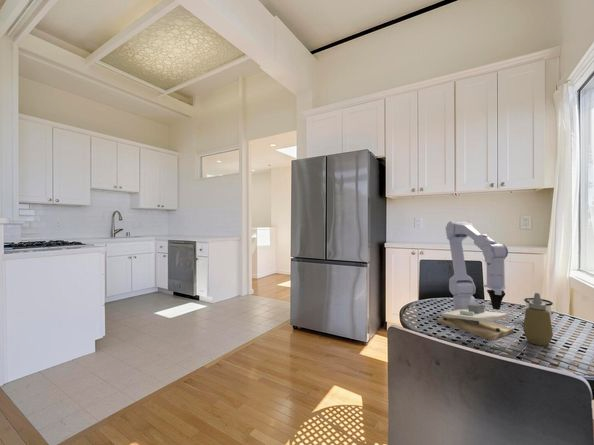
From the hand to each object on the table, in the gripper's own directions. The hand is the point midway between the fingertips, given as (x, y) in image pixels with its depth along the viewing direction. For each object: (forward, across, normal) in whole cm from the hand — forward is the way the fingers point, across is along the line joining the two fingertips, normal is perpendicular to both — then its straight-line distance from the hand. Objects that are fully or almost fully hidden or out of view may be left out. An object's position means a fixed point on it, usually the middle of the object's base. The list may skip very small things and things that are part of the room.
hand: (496, 309), depth 109 cm
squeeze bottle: (+10, +4, +12) cm, 16 cm away
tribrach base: (+9, -3, -8) cm, 12 cm away
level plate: (+4, -3, -8) cm, 9 cm away
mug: (+10, -22, +16) cm, 29 cm away
